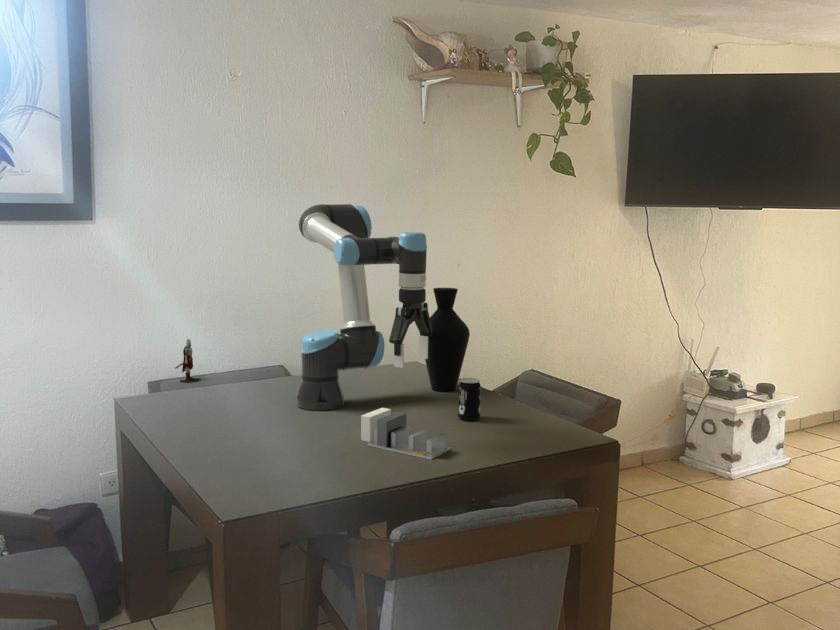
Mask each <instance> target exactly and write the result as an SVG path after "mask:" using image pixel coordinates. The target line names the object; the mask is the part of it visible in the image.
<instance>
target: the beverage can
mask: <svg viewBox="0 0 840 630" xmlns="http://www.w3.org/2000/svg"><path fill="white" fill-rule="evenodd" d="M481 387H482V386H481V383H480V379H478V378H473V377H464V378H461V379H460V381H459V383H458V404H457V405H458V406H457V407H458V410H457V415H458V418H459V419H460V421H464V422H476V421H478V420H479V419H480V417H481V393H482V391H481Z"/></svg>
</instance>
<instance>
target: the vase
mask: <svg viewBox="0 0 840 630" xmlns="http://www.w3.org/2000/svg"><path fill="white" fill-rule="evenodd" d="M458 290H459V289H458V288H456V287H434V288H433V293H434V298H435V303H436V307H437V309H435V311H434V312H433V313H432V314H431V316H429V317H430V321H431V325H432V329H433V332H432V336H428V359H424V362H425V366H426V370H427V374H428V378H429V383H430V387H431V390H432V391H433V392H437V393H452V392H455V391H456V390H457V386H458V384H459V378H460V374H461V371H462V367H463V364H464V360H465V356H466V352H467V347H468V344H469V340H470V335H471V334H470V329H469V326H467V324H466V323H465V322H464V321H463V320H462V319H461V317H460V316H459V315H458V314H457V312H456V311H455V310H454V305H455V301H456V298H457V294H458ZM427 328H428V327H427ZM419 336H422V335H421V334H420V333H419Z"/></svg>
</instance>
